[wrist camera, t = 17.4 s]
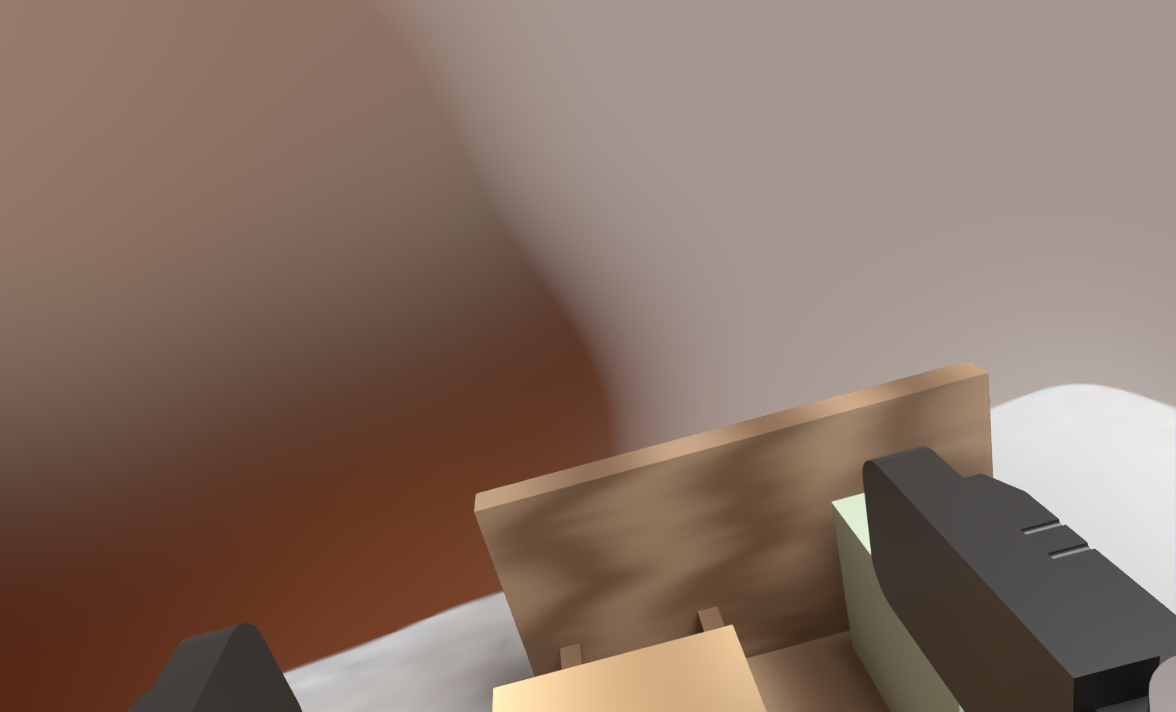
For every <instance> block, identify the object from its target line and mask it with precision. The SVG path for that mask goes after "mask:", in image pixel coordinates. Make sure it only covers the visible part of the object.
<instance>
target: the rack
mask: <svg viewBox="0 0 1176 712" xmlns="http://www.w3.org/2000/svg"><path fill="white" fill-rule="evenodd" d="M988 379H989V377H988V372H986V371H984V370H983V369H981V368H980V367H978V366H976V365H975V364H973V363H972V362H970V361H966V362H962V363H958V364H954V365H951V366H947V367H943V368H940V369H936V370H932V371H929V372H925V373H921V374H918V375H914V376H910V377H906V378H903V379H899V380H895V381H892V382H888V383H885V384H881V385H877V386H873V387H869V388H866V389H862V390H859V391H855V392H851V393H847V394H844V395H840V396H836V397H832V398H829V399H825V400H822V401H818V402H814V403H810V404H807V405H803V406H799V407H795V408H792V409H788V410H785V411H781V412H777V413H774V414H770V415H766V416H762V417H759V418H755V419H751V420H747V421H744V422H740V423H737V424H733V425H729V426H725V427H722V428H718V429H714V430H710V431H707V432H703V433H699V434H696V435H692V436H688V437H685V438H681V439H678V440H673V441H670V442H666V443H662V444H659V445H655V446H651V447H648V448H644V449H640V450H636V451H633V452H629V453H626V454H622V455H618V456H615V457H611V458H607V459H603V460H599V461H596V462H592V463H588V464H585V465H581V466H577V467H574V468H570V469H567V470H562V471H559V472H555V473H551V474H548V475H544V476H540V477H537V478H533V479H529V480H526V481H522V482H519V483H514V484H511V485H507V486H503V487H500V488H496V489H492V490H489V491H485V492H481V493H477V494H476V499H475V510H474V512H475V515H476V518H477V521H478V523H479V526H480V529H481V531H482V534H483V537H484V540H485V542H486V545H487V547H488V550H489V553H490V556H491V558H492V561H493V564H494V567H495V569H496V572H497V575H498V577H499V580H500V583H501V585H502V588H503V591H504V594H505V596H506V599H507V602H508V604H509V607H510V610H511V612H512V615H513V618H514V621H515V623H516V626H517V629H518V631H519V634H520V637H521V639H522V642H523V645H524V648H525V650H526V653H527V656H528V658H529V661H530V664H531V666H532V669H533V672H534V675H535V677H537V676H541V675H545V674H548V673H552V672H556V671H560V670H564V669H567V668H571V667H575V666H579V665H582V664H586V663H590V662H594V661H597V660H601V659H605V658H609V657H612V656H616V655H620V654H624V653H627V652H631V651H635V650H639V649H643V648H646V647H650V646H654V645H658V644H661V643H665V642H669V641H673V640H676V639H680V638H684V637H688V636H691V635H695V634H699V633H703V632H706V631H710V630H714V629H718V628H722V627H725V626H729V625H733V627H734V629H735V632H736V635H737V637H738V640H739V642H740V645H741V647H742V650H743V652H744V655H745V658H746V660H747V663H748V665H749V668H750V670H751V673H752V676H753V678H754V681H755V683H756V686H757V688H758V691H759V693H760V696H761V699H762V701H763V704H764V706H765V709H766V711H767V712H891V711H890V709H889V707H888V706H887V704H886V702H885V701H884V699H883V697H882V696H881V694H880V692H879V691H878V689H877V687H876V685H875V684H874V682H873V680H872V679H871V677H870V675H869V674H868V672H867V670H866V669H865V667H864V665H863V663H862V662H861V660H860V658H859V657H858V655H857V653H856V652H855V650H854V648H853V647H852V640H851V633H850V626H849V619H848V613H847V606H846V599H845V592H844V585H843V578H842V572H841V565H840V558H839V551H838V544H837V537H836V531H835V524H834V517H833V510H832V503H831V502H833V501H836V500H840V499H844V498H847V497H851V496H855V495H859V494H862V493H864V486H863V476H862V470H863V465H864V463H865V462H866V461H868V460H871V459H875V458H879V457H883V456H887V455H890V454H894V453H898V452H902V451H906V450H909V449H913V448H917V447H921V446H926V447H928V448H930V449H932V450H933V451H934V452H935V453H936V454H937V455H939V456H940V457H941V458H942V459H943V460H944V461H945V462H946V463H947V464H949V465H950V466H951V467H952V468H953V469H954V470H955V471H956V472H957V473H959V474H960V475H961V476H962V477H963V478H966V477H969V476H973V475H977V474H981V473H982V474H984V475H987V476H989V477H991V478H993V466H992V444H991V422H990V400H989V380H988Z"/></svg>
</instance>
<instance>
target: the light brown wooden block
mask: <svg viewBox="0 0 1176 712" xmlns="http://www.w3.org/2000/svg"><path fill="white" fill-rule="evenodd" d="M492 712H767V711H766V709H765V706H764V704H763V701H762V699H761V696H760V693H759V691H758V688H757V686H756V683H755V681H754V678H753V676H752V673H751V670H750V668H749V665H748V663H747V660H746V658H745V655H744V652H743V650H742V647H741V645H740V642H739V640H738V637H737V635H736V632H735V629H734V627H733V625H729V626H725V627H722V628H718V629H714V630H710V631H706V632H703V633H699V634H695V635H691V636H688V637H684V638H680V639H676V640H673V641H669V642H665V643H661V644H658V645H654V646H650V647H646V648H643V649H639V650H635V651H631V652H627V653H624V654H620V655H616V656H612V657H609V658H605V659H601V660H597V661H594V662H590V663H586V664H582V665H579V666H575V667H571V668H567V669H564V670H560V671H556V672H552V673H548V674H545V675H541V676H537V677H533V678H530V679H526V680H522V681H518V682H515V683H511V684H507V685H503V686H500V687H496V688H493V709H492Z"/></svg>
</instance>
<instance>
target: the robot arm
mask: <svg viewBox="0 0 1176 712" xmlns="http://www.w3.org/2000/svg"><path fill="white" fill-rule="evenodd" d="M862 476H863V486H864V495H865V504H866V513H867V522H868V531H869V540H870V548H871V557H872V562H873V567H874V570H875V574H876V577H877V580H878V582H879V585H880V587H881V590H882V592H883V594H884V596H885V598H886V600H887V602H888V603H889V605H890V607H891V608H892V610H893V611H894V612H895V614H896V615H897V617H898V618H899V620H900V621H901V622H902V624H903V625H904V627H905V628H906V629H907V631H908V632H909V634H910V635H911V637H912V638H913V639H914V641H915V642H916V644H917V645H918V647H919V648H920V649H921V651H922V652H923V654H924V655H925V656H926V658H927V659H928V661H929V662H930V664H931V665H932V666H933V668H934V669H935V671H936V672H937V673H938V675H939V676H940V678H941V679H942V681H943V682H944V683H945V685H946V686H947V688H948V689H949V691H950V692H951V693H952V695H953V696H954V698H955V699H956V700H957V702H958V703H959V705H960V706H961V708H962V709H963V710H964V712H1176V615H1175V614H1174V613H1173V612H1172V611H1170V610H1169V609H1168V608H1167V607H1165V606H1164V605H1163V604H1162V603H1161V602H1159V601H1158V600H1157V599H1156V598H1154V597H1153V596H1152V595H1151V594H1150V593H1148V592H1147V591H1146V590H1145V589H1143V588H1142V587H1141V586H1140V585H1139V584H1137V583H1136V582H1135V581H1134V580H1133V579H1131V578H1130V577H1129V576H1128V575H1126V574H1125V573H1124V572H1123V571H1122V570H1120V569H1119V568H1118V567H1117V566H1115V565H1114V564H1113V563H1112V562H1111V561H1109V560H1108V559H1107V558H1106V557H1104V556H1103V555H1102V554H1101V553H1100V552H1098V551H1097V550H1096V549H1092V550H1091V549H1090V548H1089V546H1088V543H1087V542H1086V541H1085V540H1084V539H1083V538H1081V537H1080V536H1079V535H1078V534H1076V533H1075V532H1074V531H1073V530H1072V529H1070V528H1069V527H1068V526H1067V525H1063V526H1062V525H1061V524H1060V522H1059V519H1058V518H1057V517H1056V516H1055V515H1053V514H1052V513H1051V512H1050V511H1048V510H1047V509H1046V508H1045V507H1044V506H1042V505H1041V504H1040V503H1039V502H1037V501H1036V500H1035V499H1034V498H1033V497H1031V496H1030V495H1029V494H1028V493H1026V492H1025V491H1023V490H1020V489H1018V488H1015V487H1013V486H1011V485H1008V484H1006V483H1003V482H1001V481H999V480H996V479H994V478H991V477H989V476H987V475H984V474H982V473H981V474H977V475H973V476H969V477H966V478H963V477H962V476H961V475H960V474H959V473H957V472H956V471H955V470H954V469H953V468H952V467H951V466H950V465H949V464H947V463H946V462H945V461H944V460H943V459H942V458H941V457H940V456H939V455H937V454H936V453H935V452H934V451H933V450H932V449H930V448H928V447H926V446H921V447H917V448H913V449H909V450H906V451H902V452H898V453H894V454H890V455H887V456H883V457H879V458H875V459H871V460H868V461H866V462H865V463H864V465H863V470H862ZM127 712H302V710H301V707H300V705H299V703H298V701H297V699H296V697H295V696H294V694H293V692H292V690H291V688H290V686H289V685H288V683H287V681H286V679H285V677H284V675H283V673H282V672H281V670H280V668H279V666H278V664H277V662H276V661H275V659H274V657H273V655H272V653H271V651H270V650H269V648H268V646H267V644H266V642H265V640H264V638H263V637H262V635H261V633H260V632H259V630H258V629H257V628H256V627H255V626H253V625H252V624H249V623H242V624H239V625H235V626H231V627H228V628H224V629H220V630H216V631H212V632H208V633H204V634H201V635H197V636H193V637H189V638H187V639H185V640H183V641H182V642H181V643H180V644H179V645H178V646H177V648H176V649H175V651H174V653H173V654H172V656H171V658H170V659H169V661H168V663H167V664H166V666H165V668H164V670H163V671H162V673H161V675H160V676H159V678H158V680H157V682H156V683H155V685H154V687H153V689H152V690H150V691H147V692H145V693H144V694H143V696H141V697H140V698H139V699H138V701H137V702H136V703H135V704H134V705H133V706H132V707H131V708H130V709H129V710H128V711H127Z"/></svg>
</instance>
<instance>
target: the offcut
mask: <svg viewBox="0 0 1176 712" xmlns="http://www.w3.org/2000/svg"><path fill="white" fill-rule="evenodd" d="M831 503H832V510H833V517H834V524H835V531H836V537H837V544H838V551H839V558H840V565H841V572H842V578H843V585H844V592H845V599H846V606H847V613H848V619H849V626H850V633H851V640H852V647H853V648H854V650H855V652H856V653H857V655H858V657H859V658H860V660H861V662H862V663H863V665H864V667H865V669H866V670H867V672H868V674H869V675H870V677H871V679H872V680H873V682H874V684H875V685H876V687H877V689H878V691H879V692H880V694H881V696H882V697H883V699H884V701H885V702H886V704H887V706H888V707H889V709H890V711H891V712H964V710H963V709H962V708H961V706H960V705H959V703H958V702H957V700H956V699H955V698H954V696H953V695H952V693H951V692H950V691H949V689H948V688H947V686H946V685H945V683H944V682H943V681H942V679H941V678H940V676H939V675H938V673H937V672H936V671H935V669H934V668H933V666H932V665H931V664H930V662H929V661H928V659H927V658H926V656H925V655H924V654H923V652H922V651H921V649H920V648H919V647H918V645H917V644H916V642H915V641H914V639H913V638H912V637H911V635H910V634H909V632H908V631H907V629H906V628H905V627H904V625H903V624H902V622H901V621H900V620H899V618H898V617H897V615H896V614H895V612H894V611H893V610H892V608H891V607H890V605H889V603H888V602H887V600H886V598H885V596H884V594H883V592H882V590H881V587H880V585H879V582H878V580H877V577H876V574H875V570H874V567H873V562H872V557H871V548H870V540H869V531H868V522H867V513H866V504H865V495H864V493H862V494H859V495H855V496H851V497H847V498H844V499H840V500H836V501H833V502H831Z"/></svg>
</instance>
